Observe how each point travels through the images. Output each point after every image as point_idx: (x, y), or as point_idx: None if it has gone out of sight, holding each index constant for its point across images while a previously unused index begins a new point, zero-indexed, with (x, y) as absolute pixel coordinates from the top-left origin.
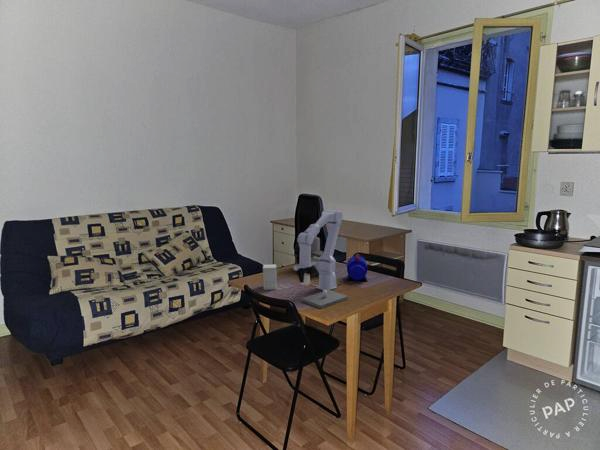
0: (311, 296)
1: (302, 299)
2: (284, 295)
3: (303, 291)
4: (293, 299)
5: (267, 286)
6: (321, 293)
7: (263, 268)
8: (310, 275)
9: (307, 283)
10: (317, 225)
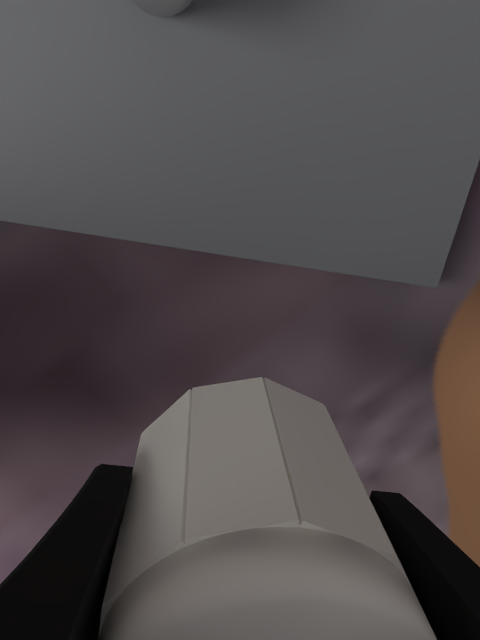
0: (278, 214)
1: (441, 259)
2: None
3: (85, 478)
4: (408, 391)
5: None
6: (37, 166)
7: None
8: (90, 593)
9: (293, 408)
10: None
